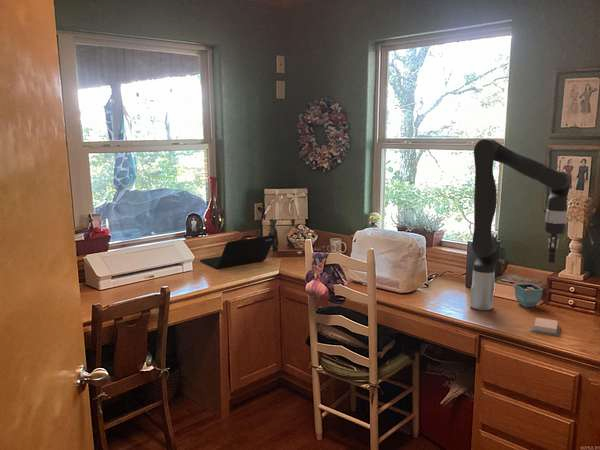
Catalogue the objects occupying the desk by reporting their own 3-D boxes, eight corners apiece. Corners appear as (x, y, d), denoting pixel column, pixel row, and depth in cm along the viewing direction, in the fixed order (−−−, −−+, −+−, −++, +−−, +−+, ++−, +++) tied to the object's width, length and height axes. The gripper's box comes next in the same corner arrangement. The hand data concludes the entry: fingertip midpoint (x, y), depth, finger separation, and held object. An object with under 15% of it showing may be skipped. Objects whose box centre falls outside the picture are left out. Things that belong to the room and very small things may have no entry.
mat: (530, 331, 201) (530, 330, 201) (532, 323, 210) (532, 322, 210) (558, 335, 197) (559, 334, 196) (559, 327, 205) (559, 326, 205)
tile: (535, 322, 210) (533, 330, 201) (536, 317, 210) (534, 325, 201) (557, 325, 206) (556, 333, 197) (557, 320, 206) (556, 329, 197)
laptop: (246, 254, 333) (245, 225, 329) (277, 266, 303) (276, 234, 299) (199, 262, 314) (197, 231, 310) (227, 275, 284) (226, 241, 280)
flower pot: (541, 308, 228) (543, 289, 226) (523, 309, 226) (525, 290, 225) (530, 301, 236) (531, 283, 235) (512, 303, 235) (514, 284, 233)
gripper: (546, 217, 213) (542, 257, 217) (544, 222, 202) (540, 264, 205) (566, 219, 210) (562, 259, 213) (565, 224, 198) (561, 267, 202)
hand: (551, 262), depth 209 cm, fingers closed
